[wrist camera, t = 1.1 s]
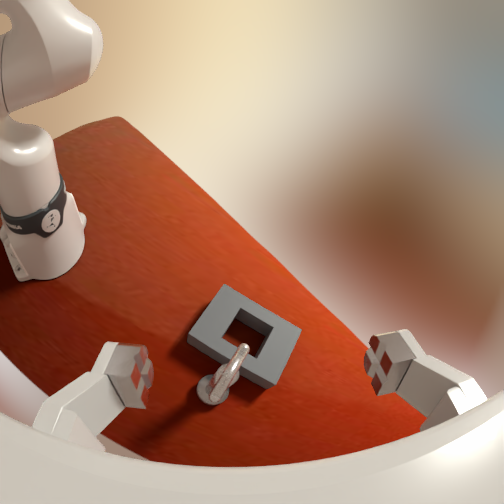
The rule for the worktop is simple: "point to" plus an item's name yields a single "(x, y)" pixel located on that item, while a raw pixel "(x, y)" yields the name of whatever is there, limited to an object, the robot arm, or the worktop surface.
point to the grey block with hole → (256, 317)
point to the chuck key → (221, 379)
